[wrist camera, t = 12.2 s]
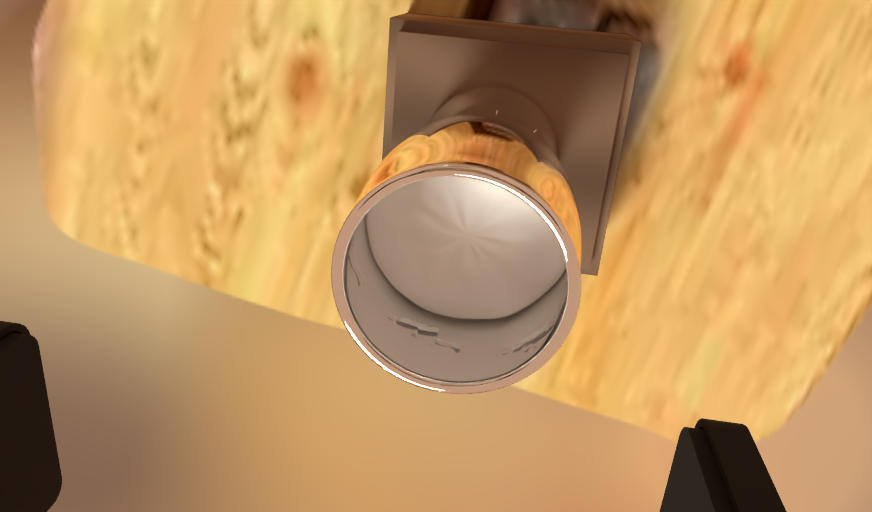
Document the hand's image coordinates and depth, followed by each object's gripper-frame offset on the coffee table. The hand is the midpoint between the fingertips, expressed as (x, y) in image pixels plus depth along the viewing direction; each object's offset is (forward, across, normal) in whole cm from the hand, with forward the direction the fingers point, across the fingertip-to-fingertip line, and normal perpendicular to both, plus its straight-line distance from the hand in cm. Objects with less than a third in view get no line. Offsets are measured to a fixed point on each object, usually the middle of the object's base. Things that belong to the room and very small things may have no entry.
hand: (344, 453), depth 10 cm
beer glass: (+24, -1, +1) cm, 24 cm away
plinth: (+28, -1, +2) cm, 28 cm away
